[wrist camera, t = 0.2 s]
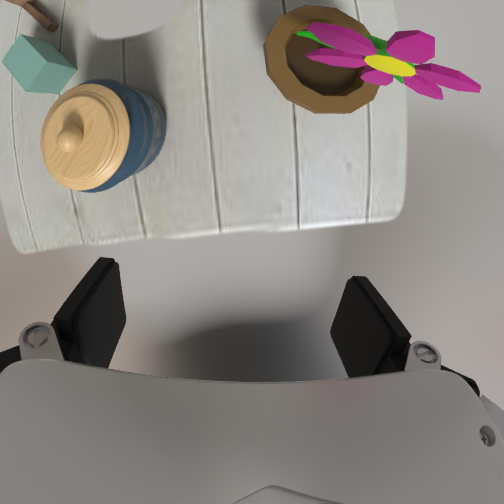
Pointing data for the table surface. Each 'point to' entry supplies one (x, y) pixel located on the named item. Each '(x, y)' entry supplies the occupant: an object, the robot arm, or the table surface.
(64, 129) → the canister
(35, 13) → the book slot
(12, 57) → the teal rectangular block
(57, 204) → the table surface
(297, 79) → the flowerpot
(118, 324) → the robot arm
